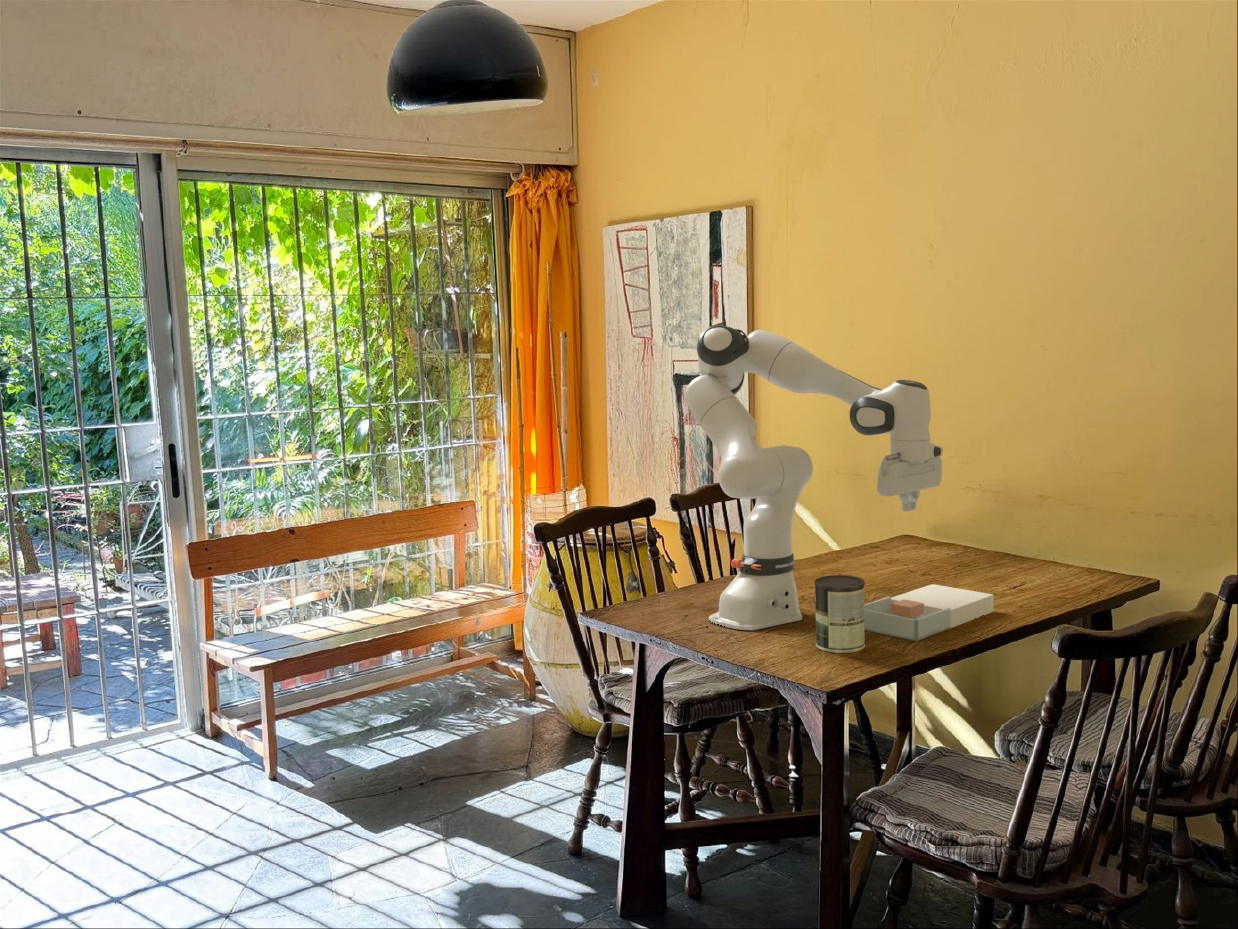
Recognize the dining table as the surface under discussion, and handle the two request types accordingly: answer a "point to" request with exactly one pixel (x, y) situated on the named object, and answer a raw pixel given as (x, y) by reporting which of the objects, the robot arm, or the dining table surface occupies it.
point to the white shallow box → (950, 602)
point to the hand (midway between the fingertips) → (909, 510)
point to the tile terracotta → (907, 608)
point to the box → (903, 622)
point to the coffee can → (839, 613)
